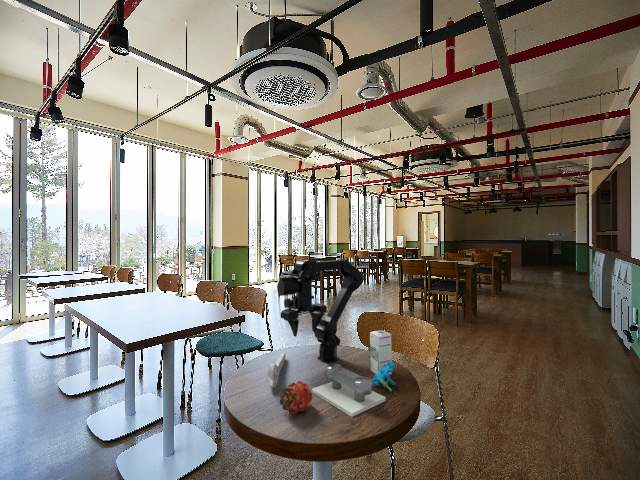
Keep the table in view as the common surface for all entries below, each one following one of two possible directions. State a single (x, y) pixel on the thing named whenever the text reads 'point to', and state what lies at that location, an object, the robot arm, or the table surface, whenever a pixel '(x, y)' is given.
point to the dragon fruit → (296, 397)
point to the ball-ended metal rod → (349, 379)
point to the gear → (384, 375)
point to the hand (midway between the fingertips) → (304, 333)
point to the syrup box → (379, 350)
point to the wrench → (275, 369)
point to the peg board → (347, 398)
